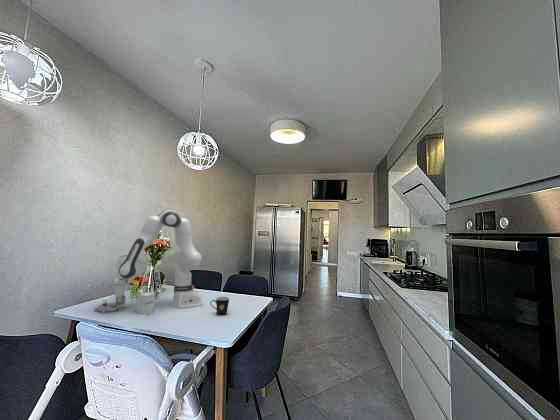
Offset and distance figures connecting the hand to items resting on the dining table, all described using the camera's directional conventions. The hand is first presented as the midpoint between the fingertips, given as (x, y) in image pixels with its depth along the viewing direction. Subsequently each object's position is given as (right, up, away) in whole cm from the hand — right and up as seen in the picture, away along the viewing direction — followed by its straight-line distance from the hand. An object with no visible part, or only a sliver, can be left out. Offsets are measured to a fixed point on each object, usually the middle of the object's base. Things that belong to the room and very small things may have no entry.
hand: (120, 300), depth 158 cm
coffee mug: (+67, -9, 0) cm, 67 cm away
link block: (0, -2, 0) cm, 2 cm away
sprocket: (-4, -4, -4) cm, 7 cm away
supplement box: (+20, -6, -7) cm, 22 cm away
